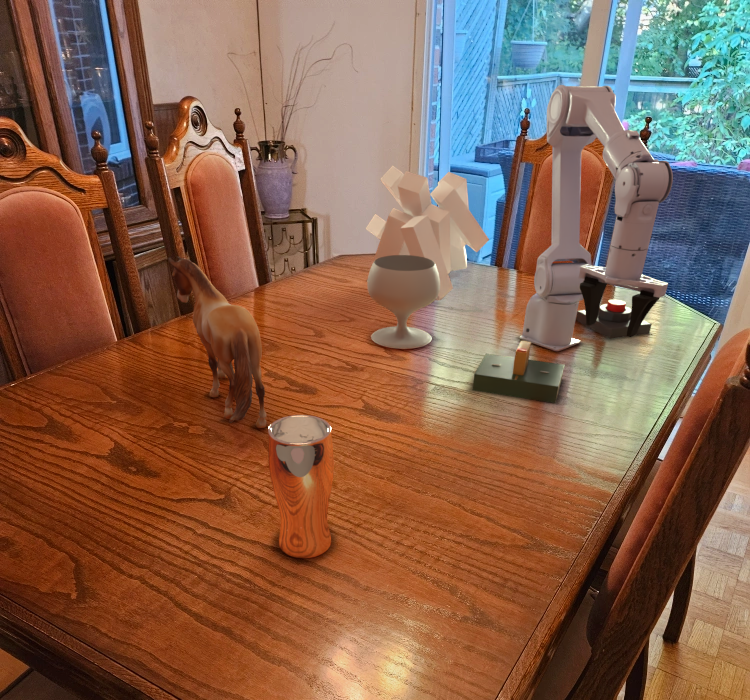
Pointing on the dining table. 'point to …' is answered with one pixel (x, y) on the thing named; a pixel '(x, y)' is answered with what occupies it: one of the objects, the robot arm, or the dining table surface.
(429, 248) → the pile of blocks
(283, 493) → the beer glass
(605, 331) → the switch block
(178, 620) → the dining table surface
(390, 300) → the chalice
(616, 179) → the robot arm
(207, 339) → the horse figurine
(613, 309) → the red button
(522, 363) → the upright orange tab
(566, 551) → the dining table surface
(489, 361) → the switch panel
